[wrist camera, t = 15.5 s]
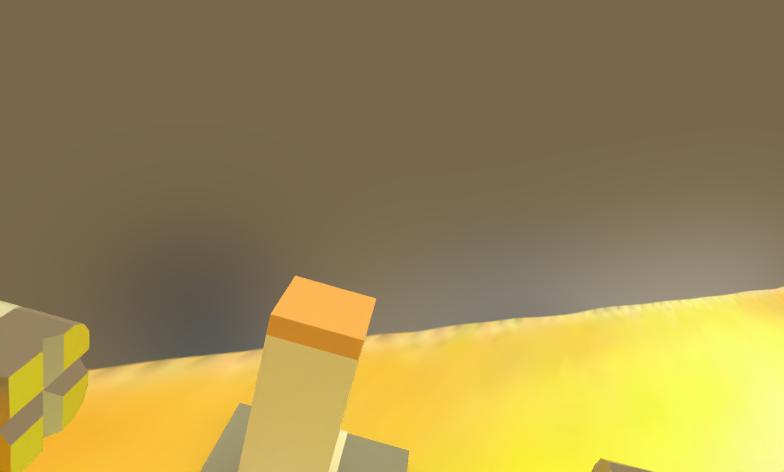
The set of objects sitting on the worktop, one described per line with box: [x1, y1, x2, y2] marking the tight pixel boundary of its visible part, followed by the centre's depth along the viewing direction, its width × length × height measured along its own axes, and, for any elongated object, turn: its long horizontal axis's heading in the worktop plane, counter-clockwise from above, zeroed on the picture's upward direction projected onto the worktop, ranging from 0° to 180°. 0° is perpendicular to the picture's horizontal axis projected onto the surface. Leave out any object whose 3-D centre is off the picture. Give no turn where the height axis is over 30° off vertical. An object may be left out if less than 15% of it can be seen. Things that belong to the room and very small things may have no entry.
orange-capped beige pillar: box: [238, 276, 376, 472], centre depth 29 cm, size 4×4×12 cm
